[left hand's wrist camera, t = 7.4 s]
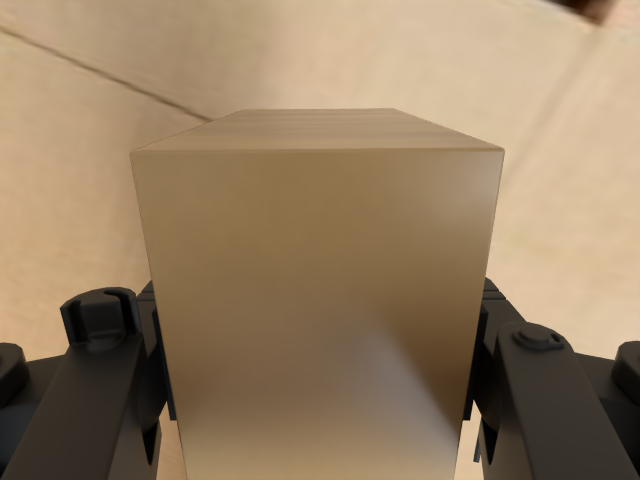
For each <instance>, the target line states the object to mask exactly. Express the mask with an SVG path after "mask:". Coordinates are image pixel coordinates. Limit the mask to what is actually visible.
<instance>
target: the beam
mask: <svg viewBox="0 0 640 480" xmlns="http://www.w3.org/2000/svg"><path fill="white" fill-rule="evenodd" d="M504 154H505V150H504V148H502V147H499V146H496V145H493V144H491V143H488V142H485V141H482V140H479V139H477V138H474V137H471V136H468V135H466V134H463V133H460V132H457V131H454V130H452V129H449V128H446V127H443V126H441V125H438V124H435V123H432V122H429V121H427V120H424V119H421V118H418V117H416V116H413V115H410V114H407V113H404V112H402V111H399V110H396V109H279V110H241V111H238V112H236V113H233V114H230V115H227V116H225V117H222V118H219V119H217V120H214V121H211V122H209V123H206V124H203V125H200V126H198V127H195V128H192V129H190V130H187V131H184V132H182V133H179V134H176V135H173V136H171V137H168V138H165V139H163V140H160V141H157V142H155V143H152V144H149V145H146V146H144V147H141V148H138V149H136V150H133V151H131V152H130V159H131V165H132V170H133V176H134V182H135V187H136V193H137V199H138V204H139V210H140V216H141V221H142V227H143V232H144V238H145V244H146V249H147V255H148V261H149V266H150V272H151V278H152V283H153V289H154V295H155V300H156V306H157V311H158V317H159V323H160V328H161V334H162V340H163V345H164V351H165V357H166V362H167V368H168V374H169V379H170V385H171V390H172V396H173V402H174V407H175V413H176V419H177V424H178V430H179V436H180V441H181V447H182V453H183V458H184V464H185V469H186V475H187V480H454V473H455V467H456V460H457V454H458V448H459V441H460V435H461V428H462V422H463V416H464V409H465V403H466V397H467V390H468V384H469V377H470V371H471V365H472V358H473V352H474V345H475V339H476V333H477V326H478V320H479V313H480V307H481V301H482V294H483V288H484V282H485V275H486V269H487V262H488V256H489V250H490V243H491V237H492V230H493V224H494V218H495V211H496V205H497V198H498V192H499V186H500V179H501V173H502V167H503V160H504Z"/></svg>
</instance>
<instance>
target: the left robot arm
mask: <svg viewBox="0 0 640 480" xmlns="http://www.w3.org/2000/svg"><path fill="white" fill-rule="evenodd" d="M60 311H61V315H62V319H63V322H64V326H65V330H66V334H67V337H68V341H69V345H70V346H69V348H68V349H67V351H66V353H65V354H64V355H60V356H55V357H50V358H45V359H39V360H34V361H29V362H26V359H25V356H24V353H23V350H22V348H21V347H19V346H18V345H16V344H12V343H0V480H156V476H157V468H158V460H159V452H160V444H161V436H162V434H161V427H160V422H159V416H160V414H161V412H162V410H163V408H164V405H165V403H166V401H167V404H168V410H169V416H170V420H177V419H176V413H175V407H174V402H173V396H172V390H171V385H170V379H169V374H168V368H167V362H166V357H165V351H164V345H163V340H162V334H161V328H160V323H159V317H158V311H157V306H156V300H155V295H154V289H153V283H152V280H151V281H150V282H149V283H148V284H147V285H146V287H145V288H144V289H143V290H142V293H140V294H139V295H138V296H137V297H136V293H134V292H133V291H132V290H130V289H127V288H121V287H106V288H101V289H95V290H91V291H88V292H85V293H82V294H79V295H77V296H75V297H73V298H72V299H70V300H68V301H66V302H65V303H64V304H63V305H62V306H61V307H60ZM473 400H474V401H475V403H476V405H477V407H478V409H479V411H480V413H481V415H482V416H481V422H480V427H479V432H478V438H477V443H476V448H475V454H474V460H473V462H478V463H479V460H480V454H481V459H482V467H483V475H484V480H640V341H630V342H625V343H623V344H622V345H620V346H619V348H618V351H617V354H616V357H615V360H611V359H605V358H600V357H595V356H589V355H584V354H579V353H575V352H574V351H573V349H572V347H571V345H570V344H569V342H568V341H567V340H566V339H565V338H564V337H563V336H561V335H560V334H558V333H557V332H555V331H554V330H552V329H549V328H547V327H544V326H542V325H539V324H534V323H530V322H526V321H525V319H524V318H523V317H522V316H521V315H520V314H519V312H518V311H517V310H516V309H515V308H514V307H513V306H512V304H511V303H510V302H509V301H508V300H506V297H505V296H504V295H503V294H502V293H501V292H499V289H498V288H497V287H496V286H495V285H494V283H493V282H492V281H491V280H490V279H488V278H486V277H485V282H484V288H483V294H482V301H481V307H480V313H479V320H478V326H477V333H476V339H475V345H474V352H473V358H472V365H471V371H470V377H469V384H468V390H467V397H466V403H465V409H464V416H463V420H470V417H471V412H472V406H473Z"/></svg>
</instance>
